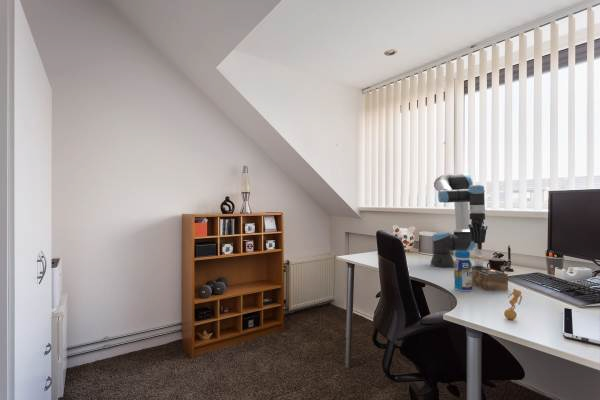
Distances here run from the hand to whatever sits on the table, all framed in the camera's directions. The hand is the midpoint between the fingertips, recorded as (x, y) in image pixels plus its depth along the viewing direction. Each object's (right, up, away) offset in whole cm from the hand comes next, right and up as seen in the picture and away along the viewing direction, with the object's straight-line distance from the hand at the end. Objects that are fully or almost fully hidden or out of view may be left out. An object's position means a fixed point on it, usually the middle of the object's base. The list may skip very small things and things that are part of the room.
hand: (478, 254), depth 169 cm
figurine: (-16, -16, -51) cm, 56 cm away
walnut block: (+1, -16, -5) cm, 16 cm away
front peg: (+1, -15, -10) cm, 18 cm away
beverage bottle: (-14, -16, -11) cm, 24 cm away
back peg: (0, -10, 0) cm, 10 cm away
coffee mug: (+18, -15, +14) cm, 27 cm away
